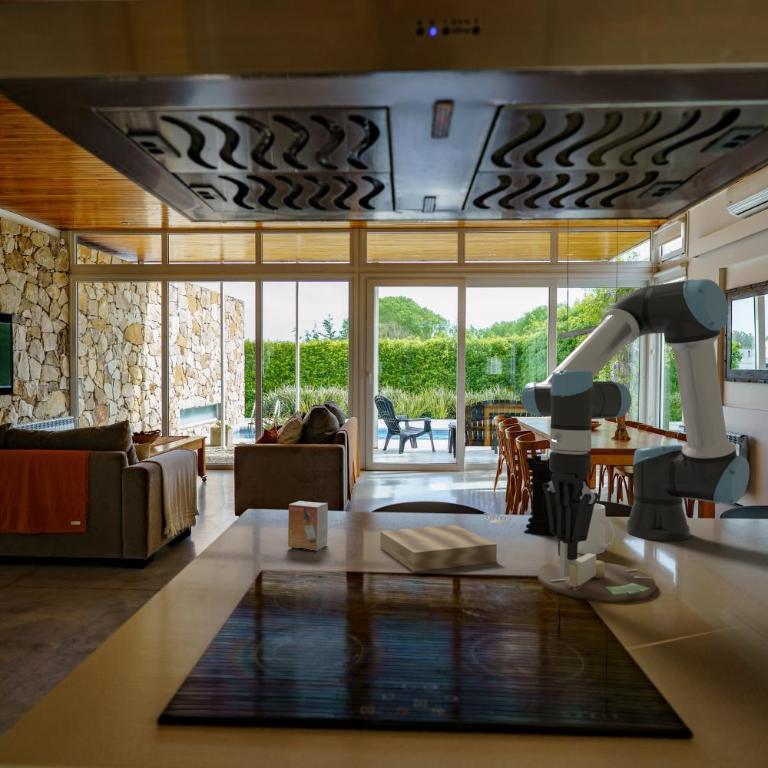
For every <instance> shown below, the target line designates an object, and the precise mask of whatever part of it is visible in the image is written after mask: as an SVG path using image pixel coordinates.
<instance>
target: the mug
mask: <svg viewBox="0 0 768 768" xmlns="http://www.w3.org/2000/svg"><path fill="white" fill-rule="evenodd" d="M606 525H607V526H608V527H609V528H610V530H611V534H612V538H611V540H610V541H609V542H606ZM615 532H616V531H615V528H614V525H613V522H612V521H611V520H610V519H609V518H608V517H607V515H606V506H605V505H603V504H600V503H597V502H596V503H595V505H594V508H593V513H592V517H591V522H590V527H589V531H588V536H587V540H586V541H581V542H578V554H580V555H586V554H588V553H590V554H595V555H599V554H600V553H601V554H603V553H604V552H605V550H607V549H610V548H611V547H612V546H613V544H614V541H615Z"/></svg>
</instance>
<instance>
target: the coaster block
mask: <svg viewBox="0 0 768 768" xmlns="http://www.w3.org/2000/svg"><path fill="white" fill-rule="evenodd" d="M379 533H380V536H379V538H380V539H379V541H380V543H379V545H380V546H379V548H380V549H381V550H383V551H384V552H385V553H387V554H388V555H390V557H392V558H394V559H395V560H396V561H398V562H400V563H401V564H402V565H404V567H406V568H408V569H409V570H411V571H412V572H414V573H415V572H422V571H423V572H424V571H431V570H441V569H448V568H457V567H466V566H475V565H483V564H485V565H486V564H493V563H497V561H498V560H497V559H498V557H497V553H498V552H497V551H498V550H497V548H498V547H497V543H495V542H494V541H493V542H492V541H491V540H489V539H487V538H484V537H482V536H480V535H478V534H476V533H474V532H471V531H470V530H467V529H465V528H463V527H461V526H459V525H456V524H449V525H448V524H447V525H437V526H426V527H425V526H424V527H414V528H413V527H412V528H402V529H391V530H380V532H379Z"/></svg>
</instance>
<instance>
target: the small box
mask: <svg viewBox="0 0 768 768" xmlns="http://www.w3.org/2000/svg"><path fill="white" fill-rule="evenodd" d="M328 510H329V504H328V502H316V501H315V502H313V501H304V500H298V501H296V502H292V503H289V504H288V529H287V530H288V531H287V533H288V534H287V536H288V537H287V547H288V546H289V547H288V548H290V547H294V548H293V549H299V548H305V549H312V550H318V551H320V550H322V549H323V548H322V547H324V546H326V545H327V546H328V526H329V524H328V522H329V521H328V518H329V517H328V516H329V515H328V514H329V511H328ZM327 546H326V547H327ZM321 548H322V549H321ZM324 548H325V547H324ZM305 549H304V550H305ZM319 549H320V550H319Z"/></svg>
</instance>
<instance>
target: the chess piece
mask: <svg viewBox="0 0 768 768" xmlns="http://www.w3.org/2000/svg"><path fill="white" fill-rule="evenodd" d="M525 461H526V464H527V465H528V466H527V467H528V469H527V471H531V472H532V473H531V475H532V476H531V478H530V483H531V488H532V489H531V491H532V492H531V510H532V511H531V516H530V517H529V518H527V521H528V523H527V524H526V525H525V528H526V530H524V531H523V533H524V534H529V535H530V534H531V535H538V536H543V537H544V536H545V537H552V538H555V537H557V536H556V535H555V534H551V532H550V525H549V517H548V510H547V502H546V495H545V493H544V490H543V487H542V485H543V483H549V482H550V481H551V477H552V475H553V472H552V471H551V470H550V469H549V459H548V458H547V459H546V460H542V455H533V457H526V460H525Z"/></svg>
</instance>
